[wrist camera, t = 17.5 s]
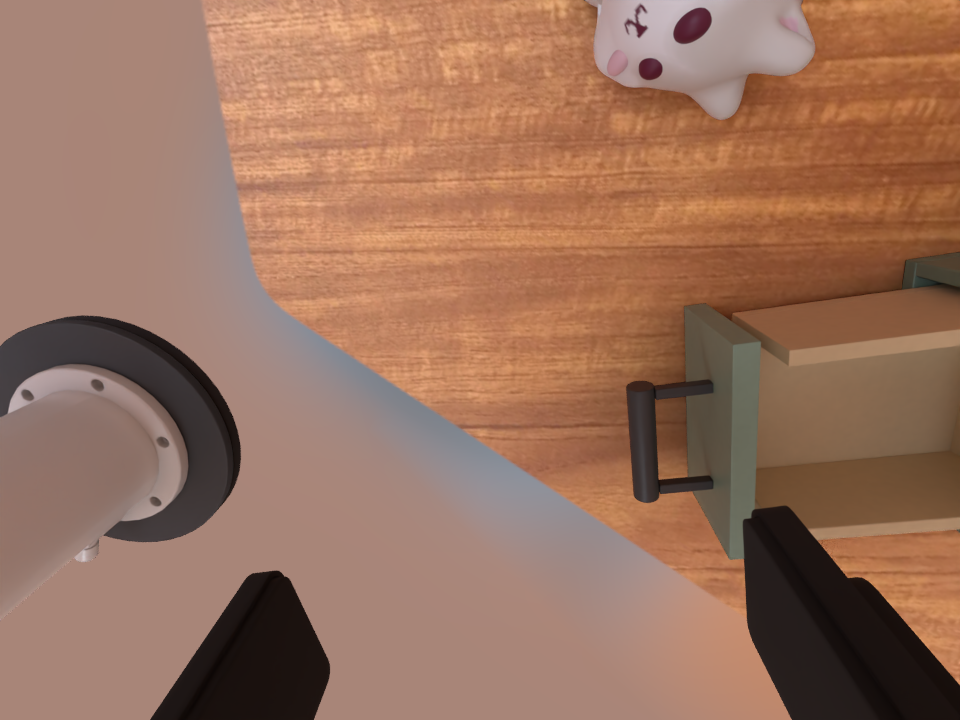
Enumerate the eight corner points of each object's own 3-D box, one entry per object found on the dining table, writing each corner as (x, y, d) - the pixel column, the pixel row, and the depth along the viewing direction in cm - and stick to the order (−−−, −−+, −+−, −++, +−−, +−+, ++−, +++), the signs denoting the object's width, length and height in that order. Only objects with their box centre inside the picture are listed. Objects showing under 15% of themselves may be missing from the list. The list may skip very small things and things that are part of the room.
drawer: (622, 489, 32) (647, 565, 26) (608, 316, 28) (634, 357, 22) (944, 460, 30) (1059, 536, 23) (984, 263, 25) (1137, 293, 19)
